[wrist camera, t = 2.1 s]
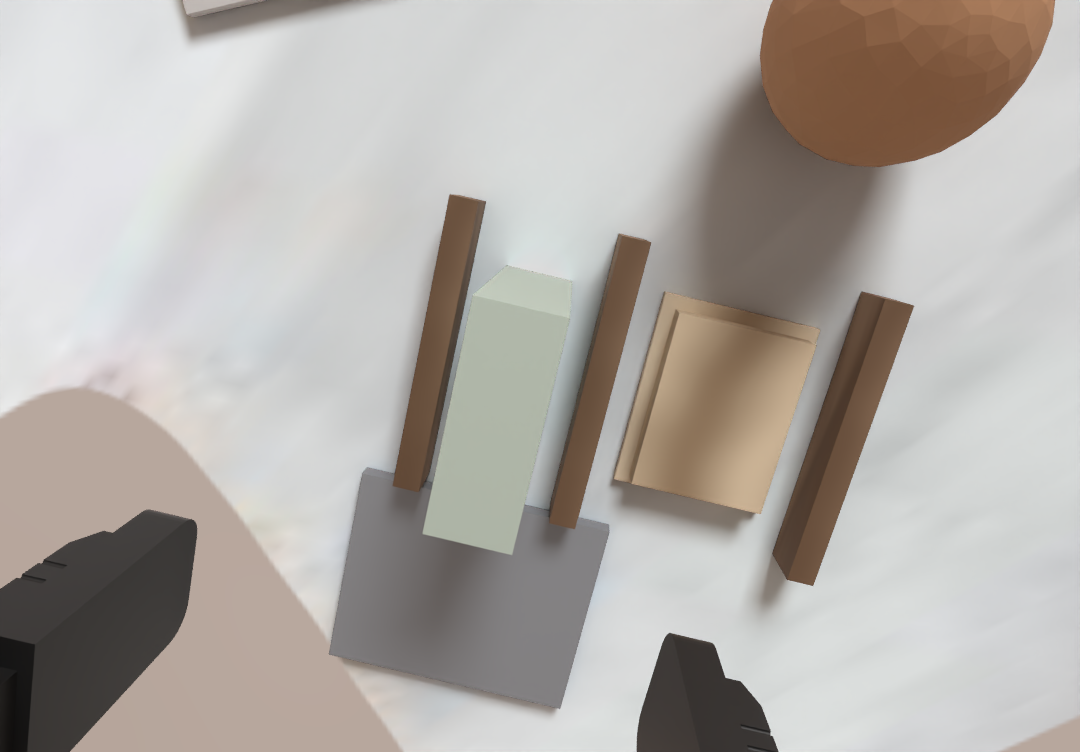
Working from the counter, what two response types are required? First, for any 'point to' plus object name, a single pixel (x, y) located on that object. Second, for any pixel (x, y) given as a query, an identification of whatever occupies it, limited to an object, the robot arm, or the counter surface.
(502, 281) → the pale green block
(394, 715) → the counter surface
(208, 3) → the baseboard molding
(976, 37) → the egg
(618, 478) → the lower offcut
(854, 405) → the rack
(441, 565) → the rubber mat
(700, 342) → the upper offcut
